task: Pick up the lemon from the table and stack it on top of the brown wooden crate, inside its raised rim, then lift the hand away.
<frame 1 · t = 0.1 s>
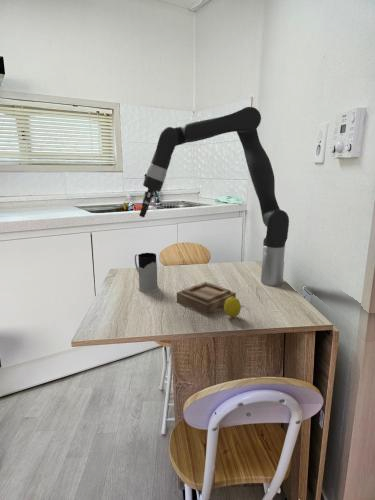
hand: (142, 215, 128), 31 cm above the table, tool tilted 20°, fingers open, 8 cm apart
glass holder: (145, 287, 136), on the table
lemon: (231, 318, 107), on the table
brown wooden crate: (206, 302, 120), on the table
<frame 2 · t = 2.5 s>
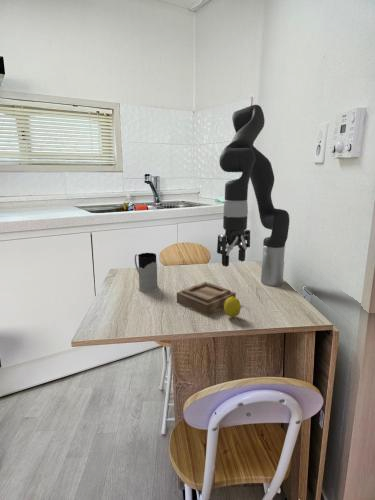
hand: (233, 263, 102), 20 cm above the table, tool pointing down, fingers open, 8 cm apart
nothing on the table moved.
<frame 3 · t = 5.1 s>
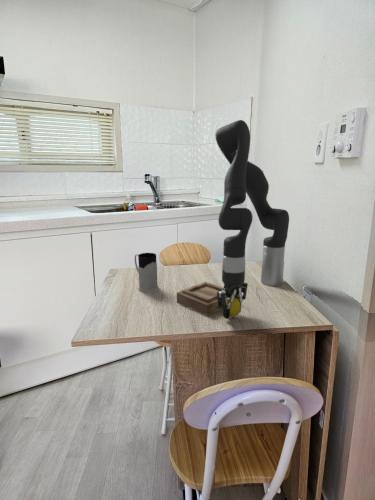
hand: (232, 314, 107), 1 cm above the table, tool pointing down, fingers closed on lemon, 5 cm apart
lemon: (231, 318, 107), on the table, touching gripper
everything else where it was.
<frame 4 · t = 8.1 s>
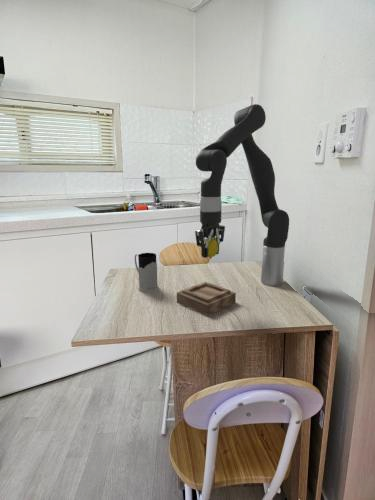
hand: (210, 255, 113), 19 cm above the table, tool pointing down, fingers closed on lemon, 5 cm apart
lemon: (210, 259, 113), point 18 cm above the table, touching gripper
everything else where it was.
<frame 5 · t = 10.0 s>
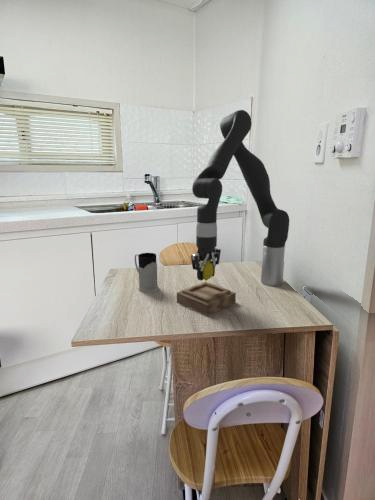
hand: (205, 277, 117), 10 cm above the table, tool pointing down, fingers closed on lemon, 5 cm apart
lemon: (205, 281, 118), point 9 cm above the table, touching gripper
everything else where it was.
when the fingers open (7 cm above the table, at t = 11.2 s): lemon drops 2 cm, resting on brown wooden crate.
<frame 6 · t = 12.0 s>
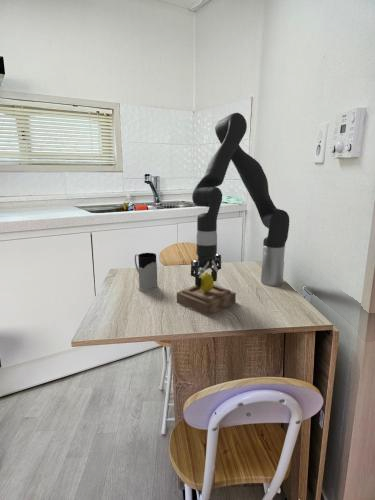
hand: (206, 283, 118), 8 cm above the table, tool pointing down, fingers open, 8 cm apart
lemon: (206, 293, 119), point 4 cm above the table, touching brown wooden crate
everything else where it was.
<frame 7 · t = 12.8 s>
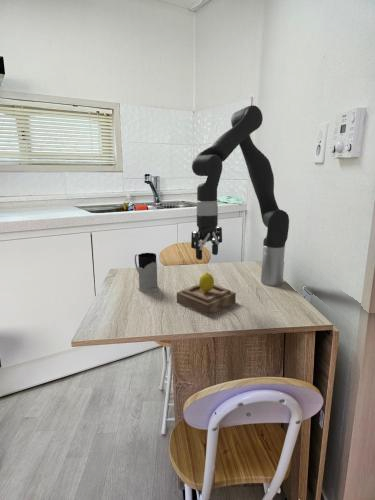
hand: (207, 256, 115), 18 cm above the table, tool pointing down, fingers open, 8 cm apart
nothing on the table moved.
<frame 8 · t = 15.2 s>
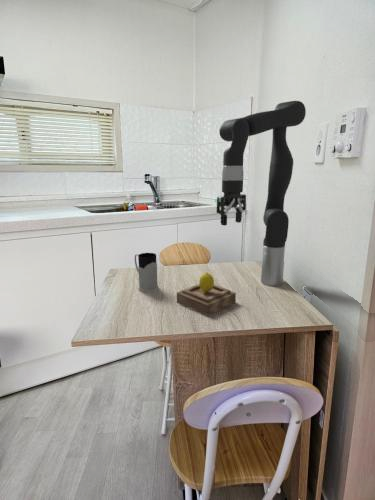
hand: (231, 223, 115), 30 cm above the table, tool pointing down, fingers open, 8 cm apart
nothing on the table moved.
at the end: lemon inside the target area on the brown wooden crate (0.0 cm from its centre), point 3.8 cm above the brown wooden crate's base; lemon touching brown wooden crate; the gripper is holding nothing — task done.
